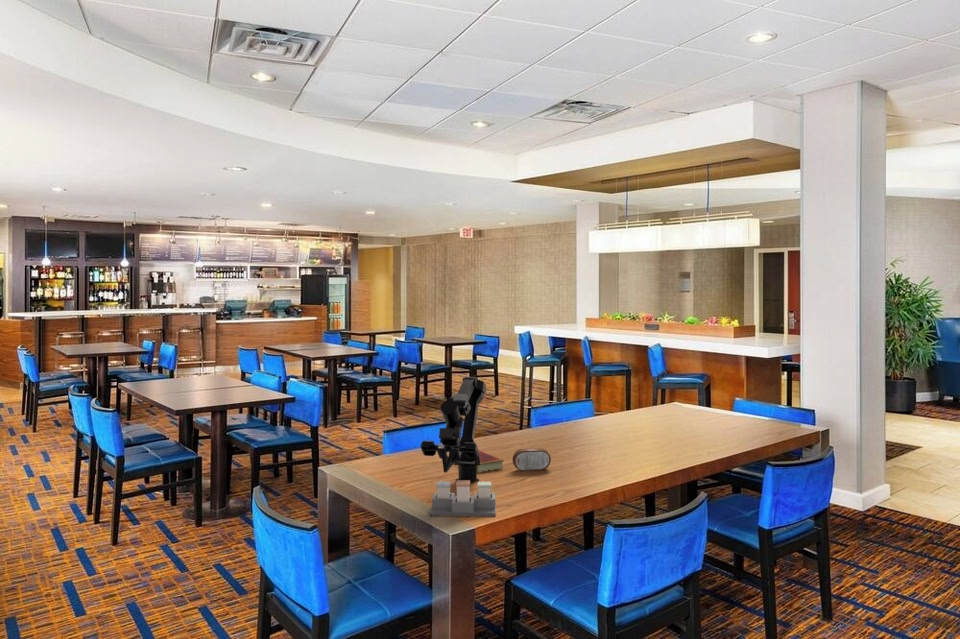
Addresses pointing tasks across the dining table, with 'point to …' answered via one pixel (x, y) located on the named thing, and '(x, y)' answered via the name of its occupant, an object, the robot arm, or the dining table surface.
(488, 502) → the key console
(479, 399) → the robot arm
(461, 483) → the key
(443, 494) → the grey upright block
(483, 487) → the key
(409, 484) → the dining table surface
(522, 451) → the tin
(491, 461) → the hardcover book
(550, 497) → the dining table surface
